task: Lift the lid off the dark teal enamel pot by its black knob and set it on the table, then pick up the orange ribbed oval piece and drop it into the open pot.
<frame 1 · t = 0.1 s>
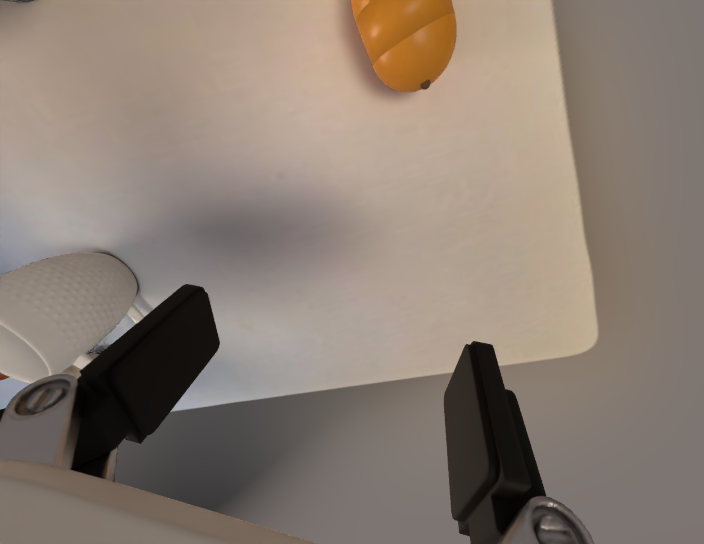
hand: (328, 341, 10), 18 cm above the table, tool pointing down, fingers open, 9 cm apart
orange ribbed oval piece: (405, 26, 19), on the table
mug: (123, 279, 39), on the table
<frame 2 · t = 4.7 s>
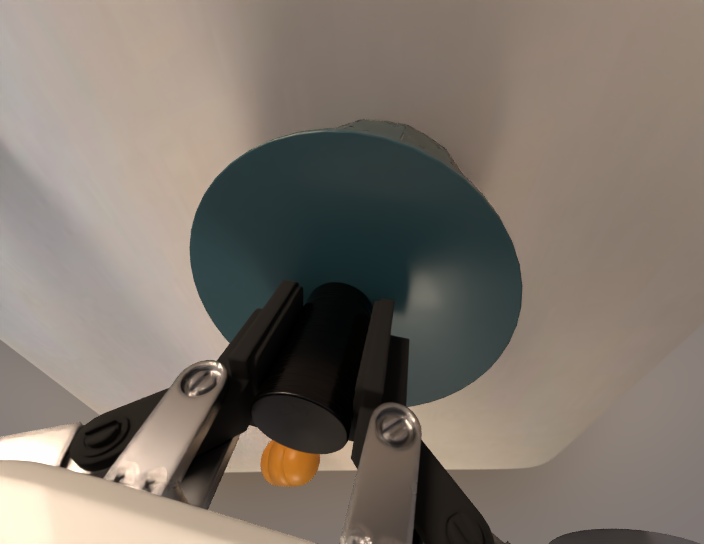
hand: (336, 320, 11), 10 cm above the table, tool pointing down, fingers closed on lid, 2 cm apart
pot: (371, 223, 19), on the table
orange ribbed oval piece: (297, 438, 37), on the table
lid: (343, 300, 12), point 9 cm above the table, touching gripper, pot
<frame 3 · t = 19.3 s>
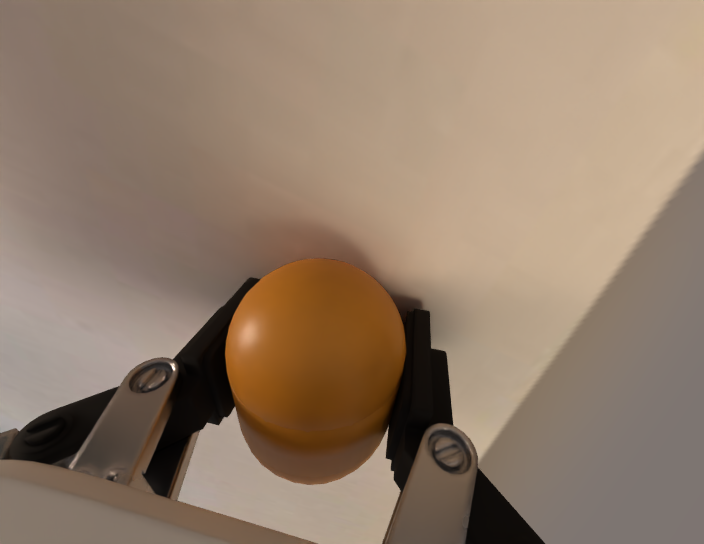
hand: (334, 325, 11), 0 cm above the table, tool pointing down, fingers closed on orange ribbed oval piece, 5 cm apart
orange ribbed oval piece: (337, 317, 12), on the table, touching gripper
when the fingers open (7 cm above the table, at t = 26.8 s): orange ribbed oval piece drops 6 cm, resting on pot.
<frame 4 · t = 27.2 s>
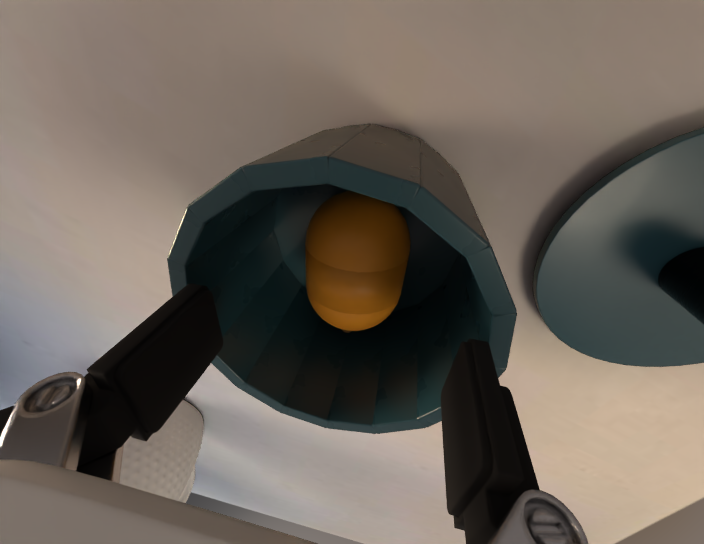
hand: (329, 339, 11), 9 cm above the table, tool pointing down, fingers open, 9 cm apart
pot: (363, 237, 18), on the table
orange ribbed oval piece: (363, 242, 17), point 1 cm above the table, touching pot
mug: (183, 414, 36), on the table
lid: (685, 265, 14), point 1 cm above the table
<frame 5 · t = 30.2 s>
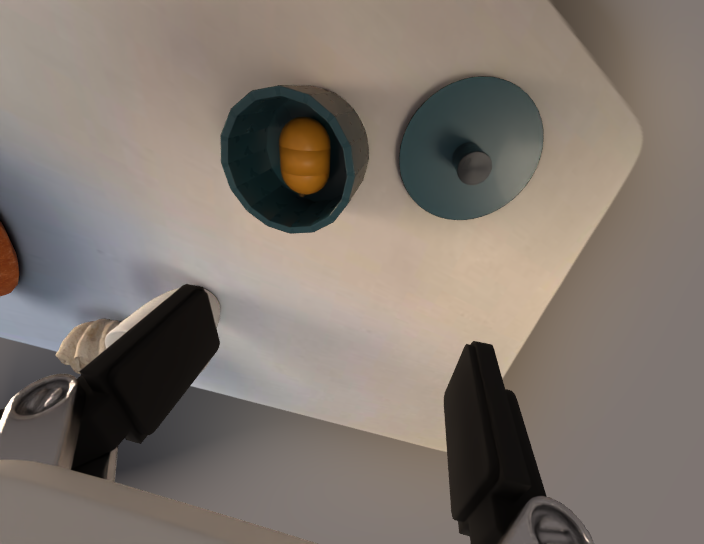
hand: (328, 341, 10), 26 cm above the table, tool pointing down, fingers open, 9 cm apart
pot: (314, 151, 33), on the table
orange ribbed oval piece: (314, 153, 32), point 1 cm above the table, touching pot
mug: (205, 305, 51), on the table
lid: (466, 156, 29), point 1 cm above the table
seashell: (127, 328, 59), on the table
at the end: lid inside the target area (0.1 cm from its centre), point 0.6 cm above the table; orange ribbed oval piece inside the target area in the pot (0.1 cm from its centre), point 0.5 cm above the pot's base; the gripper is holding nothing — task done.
